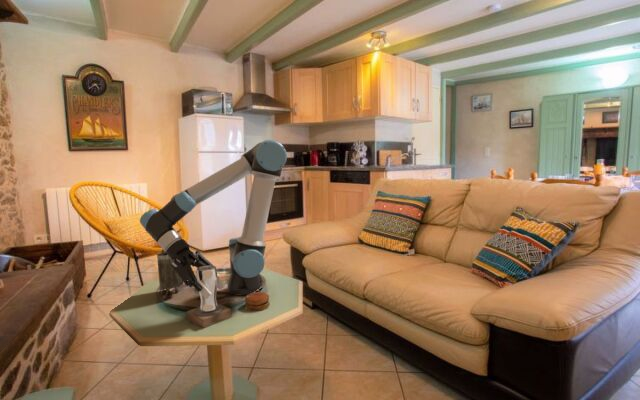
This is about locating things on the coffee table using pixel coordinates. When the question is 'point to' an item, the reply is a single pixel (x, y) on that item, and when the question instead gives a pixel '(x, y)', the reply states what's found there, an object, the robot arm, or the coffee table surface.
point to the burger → (257, 301)
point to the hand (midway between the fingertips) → (215, 291)
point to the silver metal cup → (208, 287)
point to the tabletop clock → (167, 273)
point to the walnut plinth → (208, 316)
